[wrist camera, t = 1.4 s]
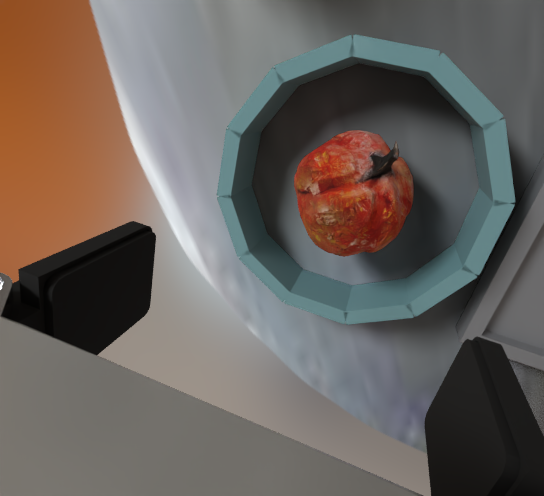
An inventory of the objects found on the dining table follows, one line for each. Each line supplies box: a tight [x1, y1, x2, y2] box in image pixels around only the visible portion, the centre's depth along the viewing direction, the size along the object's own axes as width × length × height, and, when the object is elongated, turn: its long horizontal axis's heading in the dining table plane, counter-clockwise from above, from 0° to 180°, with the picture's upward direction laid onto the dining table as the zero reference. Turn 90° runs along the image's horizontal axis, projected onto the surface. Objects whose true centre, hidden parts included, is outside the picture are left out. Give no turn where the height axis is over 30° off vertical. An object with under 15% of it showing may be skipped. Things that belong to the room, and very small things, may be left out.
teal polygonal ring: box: [217, 34, 515, 325], centre depth 24 cm, size 17×17×4 cm
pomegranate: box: [294, 130, 414, 256], centre depth 23 cm, size 7×7×10 cm
